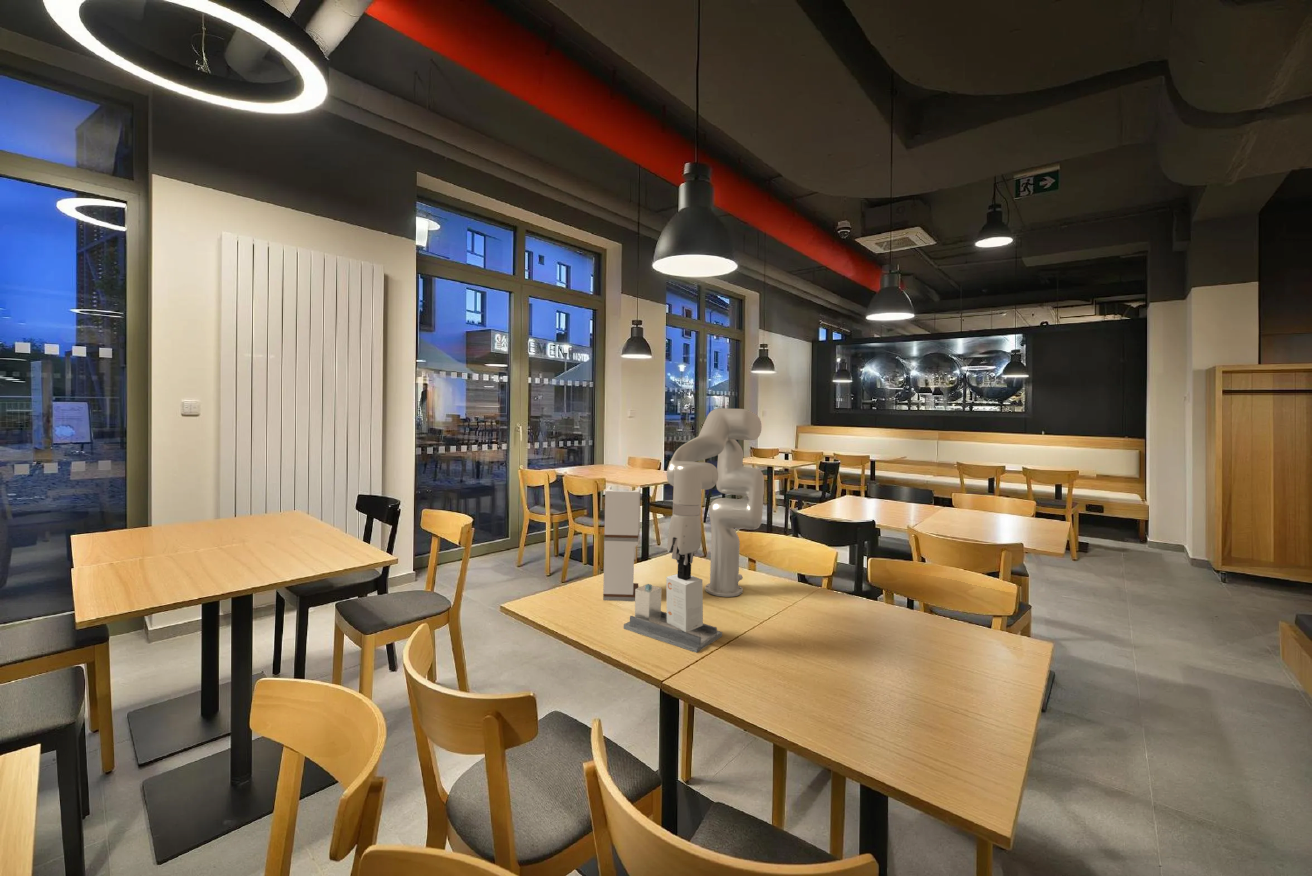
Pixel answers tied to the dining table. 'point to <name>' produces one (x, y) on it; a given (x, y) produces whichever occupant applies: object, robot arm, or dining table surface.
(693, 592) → the small box
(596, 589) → the dining table surface
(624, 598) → the tall banded cabinet
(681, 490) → the robot arm
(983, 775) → the dining table surface
